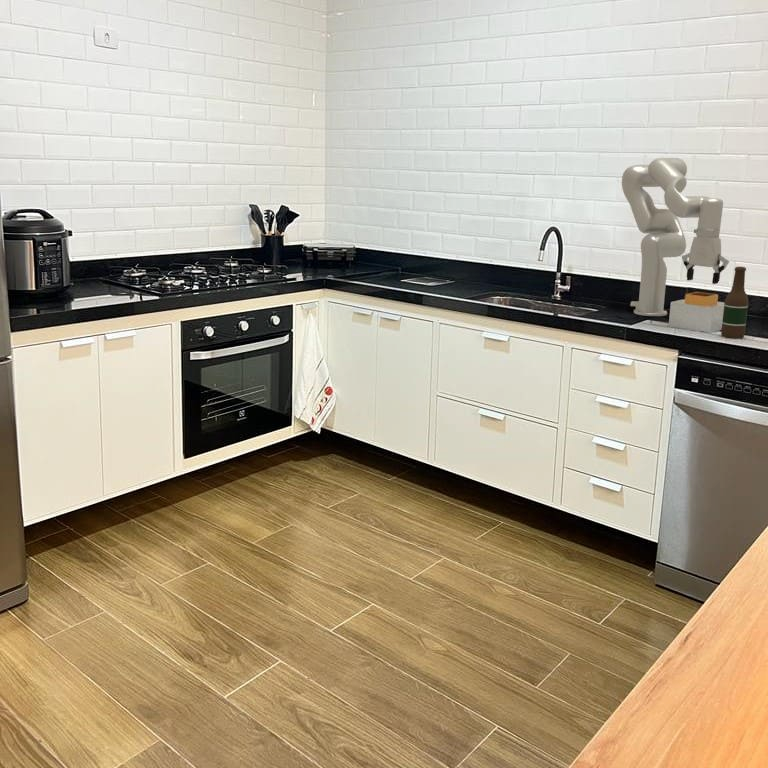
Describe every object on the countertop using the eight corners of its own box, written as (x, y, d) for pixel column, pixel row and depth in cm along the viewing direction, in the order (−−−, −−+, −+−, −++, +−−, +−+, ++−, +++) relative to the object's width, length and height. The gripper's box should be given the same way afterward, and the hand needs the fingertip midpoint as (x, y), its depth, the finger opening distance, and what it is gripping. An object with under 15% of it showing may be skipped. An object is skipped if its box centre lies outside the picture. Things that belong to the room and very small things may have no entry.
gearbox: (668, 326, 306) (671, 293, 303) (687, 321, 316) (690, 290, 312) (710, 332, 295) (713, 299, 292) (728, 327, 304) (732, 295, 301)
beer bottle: (747, 339, 285) (755, 268, 279) (723, 338, 286) (731, 268, 280) (741, 334, 292) (750, 265, 286) (718, 333, 294) (726, 265, 288)
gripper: (680, 232, 300) (674, 279, 305) (726, 236, 288) (720, 286, 293) (690, 231, 305) (685, 277, 310) (736, 235, 293) (730, 283, 298)
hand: (702, 281), depth 301 cm, fingers open, 9 cm apart
